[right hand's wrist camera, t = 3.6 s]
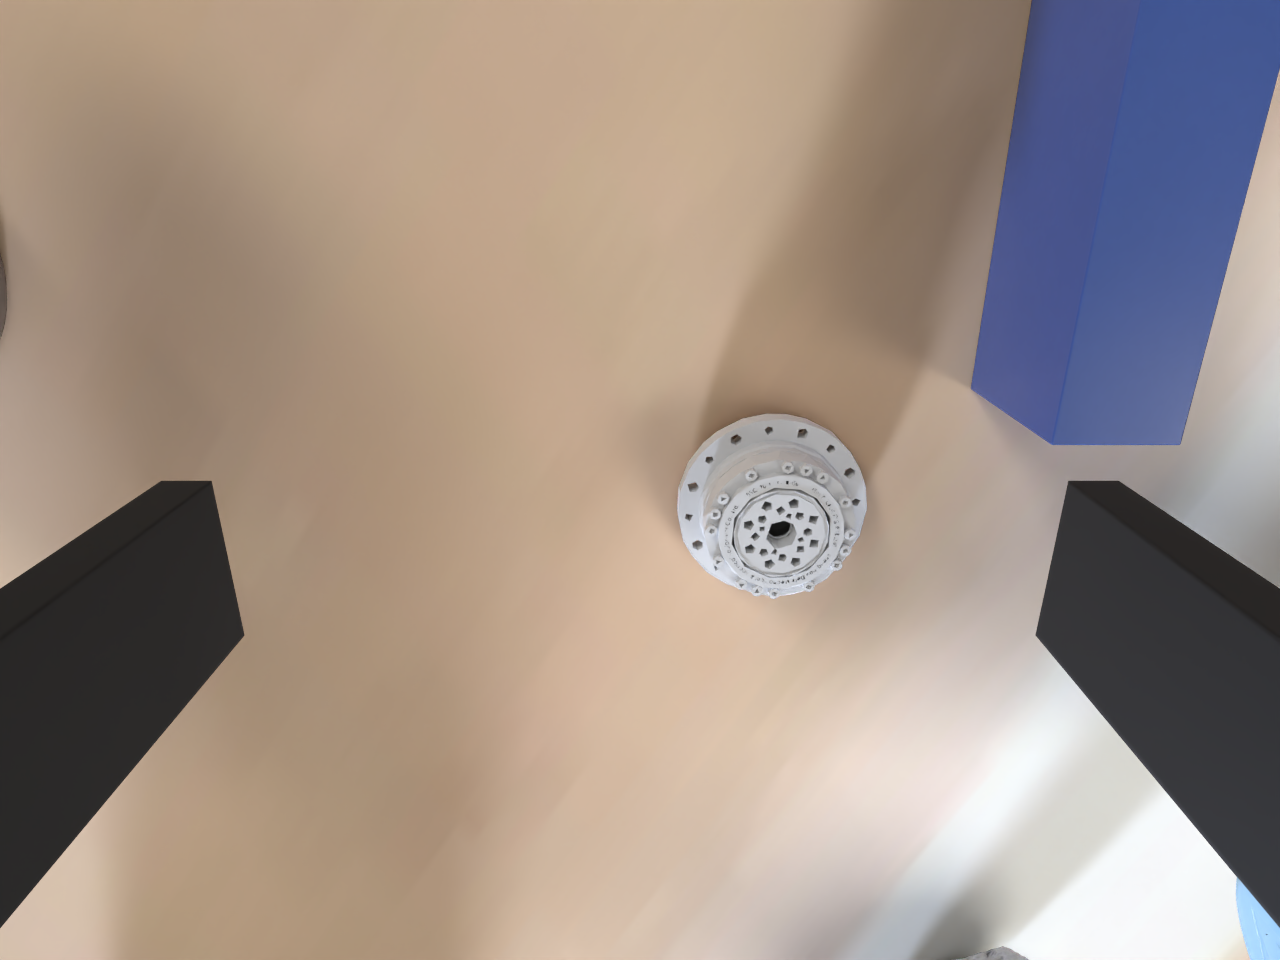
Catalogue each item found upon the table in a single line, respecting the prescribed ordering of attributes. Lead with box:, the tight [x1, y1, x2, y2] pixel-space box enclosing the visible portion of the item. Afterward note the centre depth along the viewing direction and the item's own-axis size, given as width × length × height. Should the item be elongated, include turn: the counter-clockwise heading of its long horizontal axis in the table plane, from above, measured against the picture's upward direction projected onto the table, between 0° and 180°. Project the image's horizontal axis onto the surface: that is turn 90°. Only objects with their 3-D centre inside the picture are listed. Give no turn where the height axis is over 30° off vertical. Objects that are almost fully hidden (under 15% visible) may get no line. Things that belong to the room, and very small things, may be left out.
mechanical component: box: [677, 414, 867, 599], centre depth 42 cm, size 10×4×10 cm
